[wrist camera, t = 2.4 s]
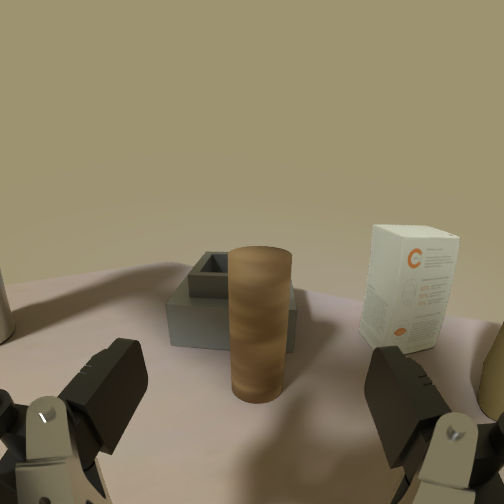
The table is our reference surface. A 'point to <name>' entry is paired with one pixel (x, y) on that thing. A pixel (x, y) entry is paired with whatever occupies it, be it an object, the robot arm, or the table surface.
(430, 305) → the small box
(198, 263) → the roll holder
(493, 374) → the squeeze bottle
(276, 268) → the cardboard roll
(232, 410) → the table surface
